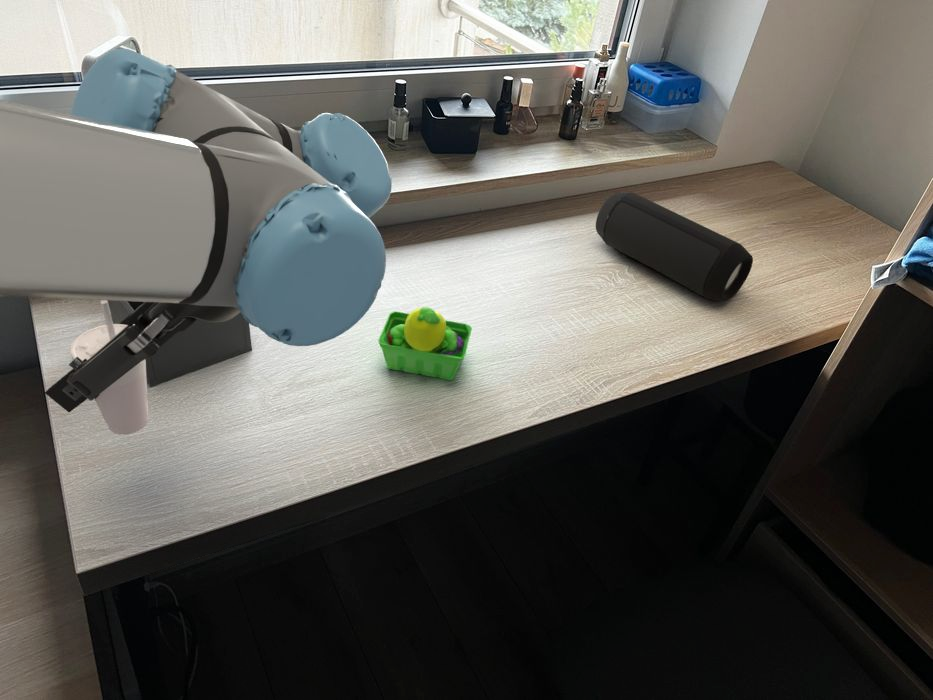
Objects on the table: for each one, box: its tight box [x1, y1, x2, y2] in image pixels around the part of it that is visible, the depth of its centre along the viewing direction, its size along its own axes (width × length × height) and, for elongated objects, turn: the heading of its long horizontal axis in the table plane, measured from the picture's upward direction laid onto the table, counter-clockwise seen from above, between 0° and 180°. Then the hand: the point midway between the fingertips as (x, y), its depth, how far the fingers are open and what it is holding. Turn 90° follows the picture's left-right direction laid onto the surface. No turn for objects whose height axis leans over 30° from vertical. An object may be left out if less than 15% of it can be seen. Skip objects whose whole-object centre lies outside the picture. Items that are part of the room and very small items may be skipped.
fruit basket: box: [378, 306, 473, 381], centre depth 94 cm, size 11×9×11 cm
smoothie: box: [69, 300, 150, 436], centre depth 67 cm, size 6×6×14 cm
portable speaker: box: [595, 191, 754, 302], centre depth 121 cm, size 26×10×10 cm, turn 44°
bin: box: [107, 300, 253, 388], centre depth 94 cm, size 14×14×10 cm
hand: (83, 375), depth 68 cm, fingers closed on smoothie, 6 cm apart
